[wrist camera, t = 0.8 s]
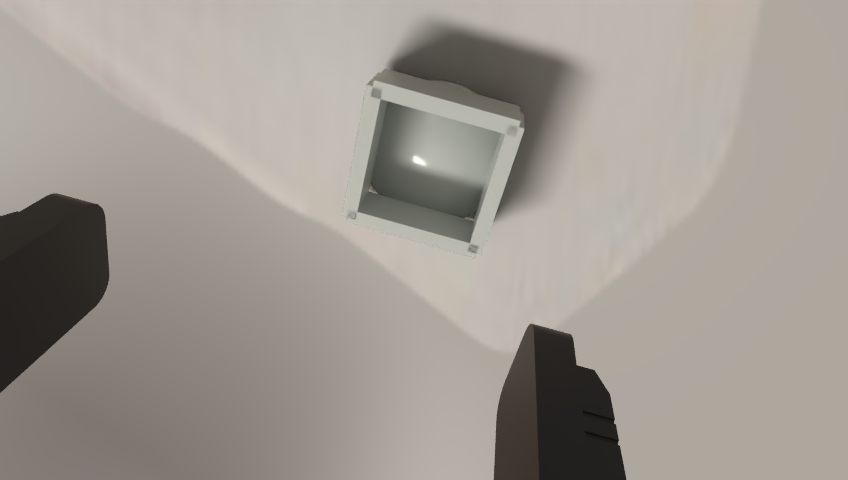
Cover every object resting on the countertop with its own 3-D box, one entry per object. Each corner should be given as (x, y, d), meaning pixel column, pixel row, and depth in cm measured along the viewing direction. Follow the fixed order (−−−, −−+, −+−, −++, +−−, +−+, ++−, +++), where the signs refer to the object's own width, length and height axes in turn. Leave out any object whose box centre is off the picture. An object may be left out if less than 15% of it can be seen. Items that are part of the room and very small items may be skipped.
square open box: (381, 61, 30) (366, 75, 27) (527, 102, 30) (529, 121, 27) (354, 195, 34) (338, 221, 31) (484, 232, 34) (481, 261, 31)
